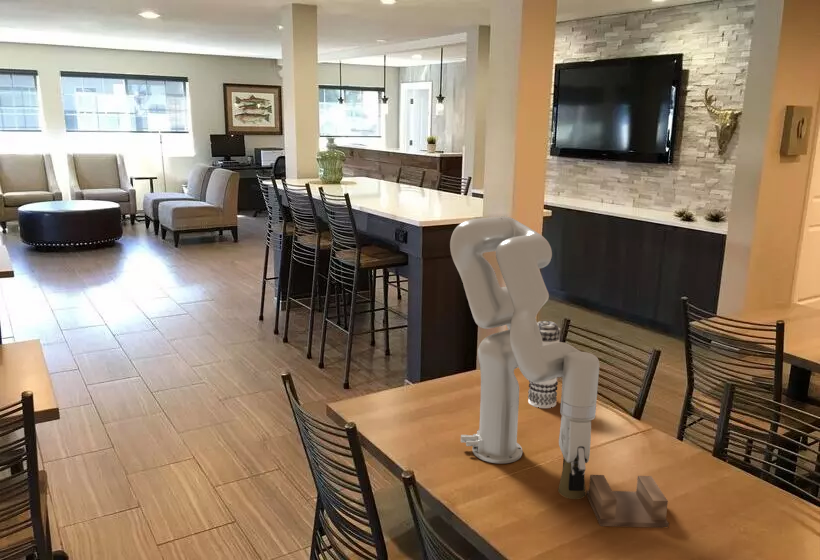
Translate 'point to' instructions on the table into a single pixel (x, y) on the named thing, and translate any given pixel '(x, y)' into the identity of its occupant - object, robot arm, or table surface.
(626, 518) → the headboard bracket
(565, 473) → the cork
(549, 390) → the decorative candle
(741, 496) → the table surface
